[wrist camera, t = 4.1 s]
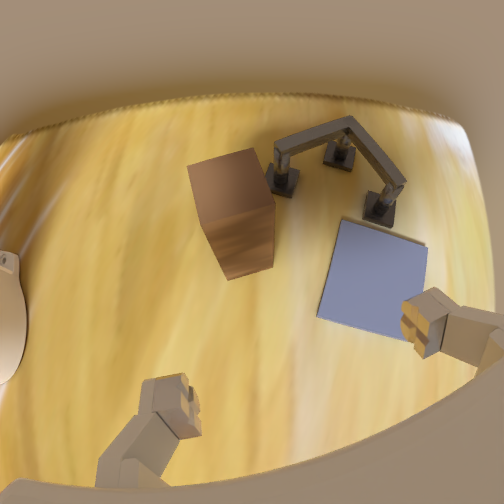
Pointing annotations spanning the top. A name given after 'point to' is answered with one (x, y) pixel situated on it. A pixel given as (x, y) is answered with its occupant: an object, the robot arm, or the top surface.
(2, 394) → the top surface
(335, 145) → the bent rail on posts
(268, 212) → the walnut peg
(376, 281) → the pad
